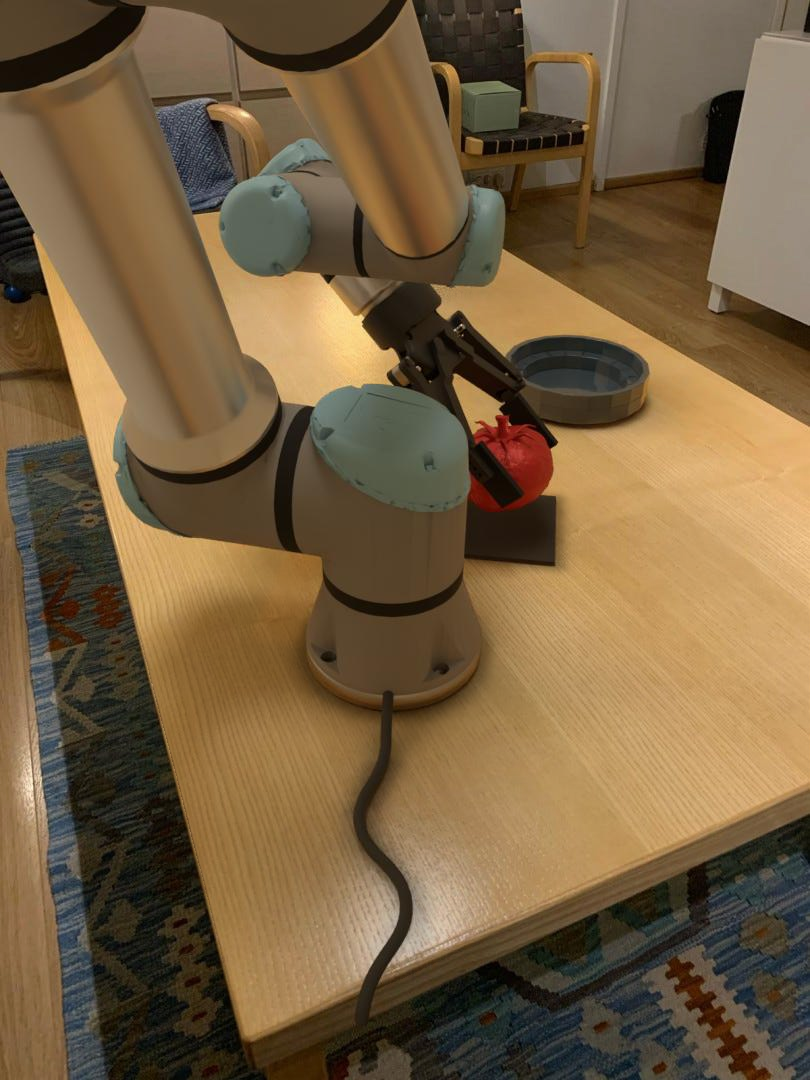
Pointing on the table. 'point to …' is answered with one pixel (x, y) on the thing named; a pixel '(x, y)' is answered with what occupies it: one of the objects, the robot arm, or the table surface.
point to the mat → (513, 533)
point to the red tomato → (514, 462)
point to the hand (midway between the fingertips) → (531, 474)
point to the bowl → (580, 378)
